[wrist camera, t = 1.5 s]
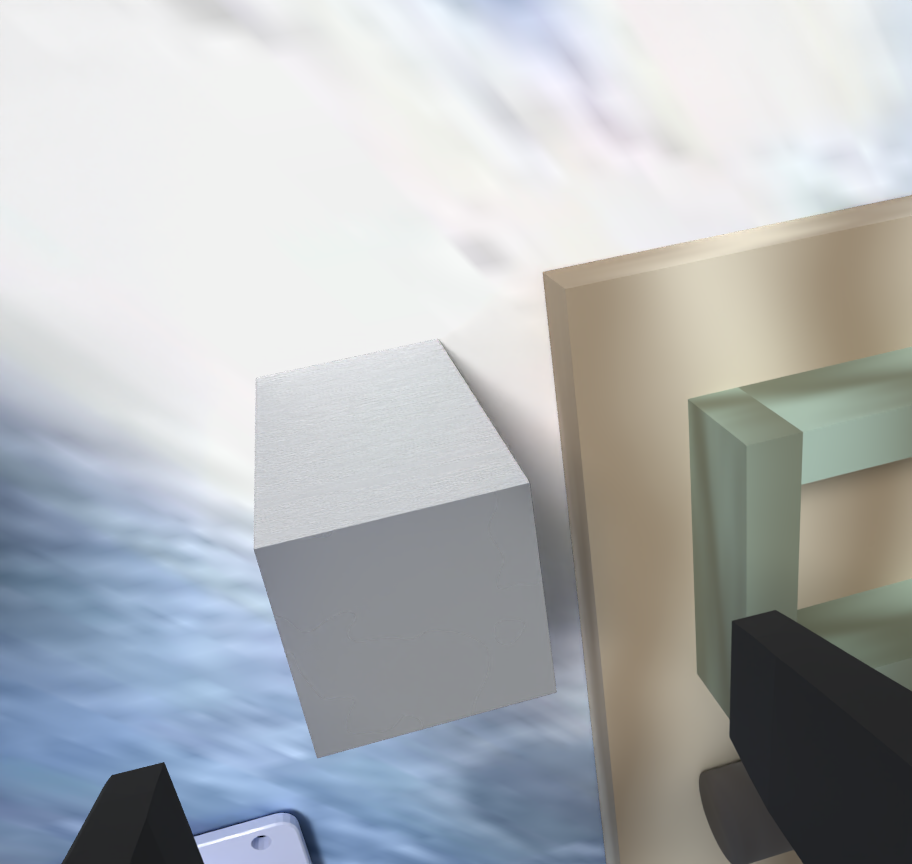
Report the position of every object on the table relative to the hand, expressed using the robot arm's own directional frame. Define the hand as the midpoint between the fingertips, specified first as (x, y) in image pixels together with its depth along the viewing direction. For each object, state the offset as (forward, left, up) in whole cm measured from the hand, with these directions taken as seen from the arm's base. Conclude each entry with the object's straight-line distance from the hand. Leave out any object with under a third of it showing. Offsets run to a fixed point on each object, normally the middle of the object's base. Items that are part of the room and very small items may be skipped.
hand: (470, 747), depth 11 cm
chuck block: (+11, -7, -10) cm, 16 cm away
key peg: (0, 0, -10) cm, 10 cm away
